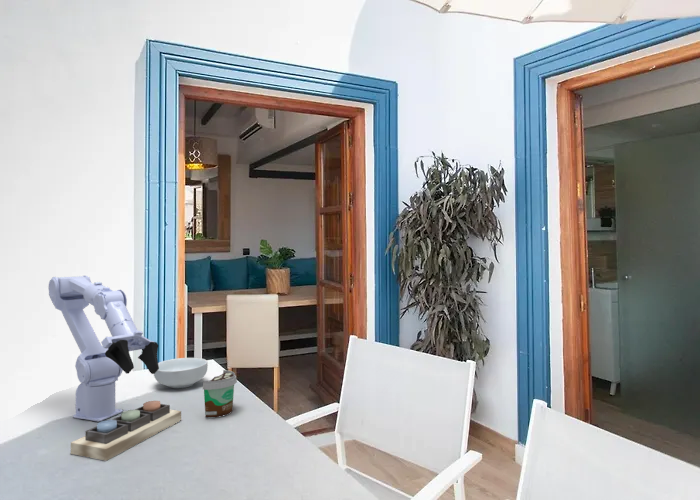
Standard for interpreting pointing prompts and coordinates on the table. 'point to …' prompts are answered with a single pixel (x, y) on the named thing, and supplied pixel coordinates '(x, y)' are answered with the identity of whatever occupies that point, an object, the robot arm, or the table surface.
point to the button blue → (106, 426)
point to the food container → (219, 394)
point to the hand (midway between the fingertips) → (143, 371)
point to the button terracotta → (151, 406)
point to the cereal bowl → (181, 372)
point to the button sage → (130, 415)
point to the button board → (124, 434)
